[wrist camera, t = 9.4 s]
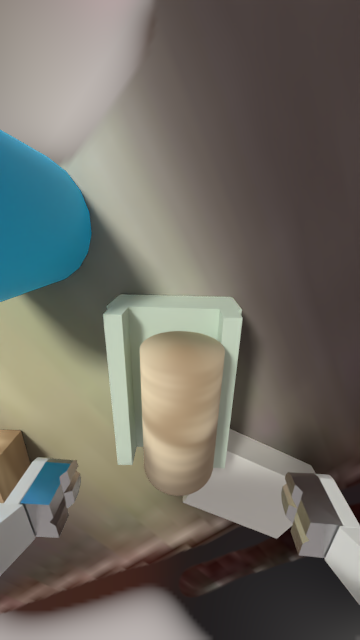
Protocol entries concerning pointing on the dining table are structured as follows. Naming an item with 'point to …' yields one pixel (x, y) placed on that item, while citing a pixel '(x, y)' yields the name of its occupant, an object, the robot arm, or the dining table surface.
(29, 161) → the mug
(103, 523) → the dining table surface
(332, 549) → the robot arm
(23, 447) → the wooden brick
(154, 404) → the roller
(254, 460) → the slab
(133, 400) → the cradle
